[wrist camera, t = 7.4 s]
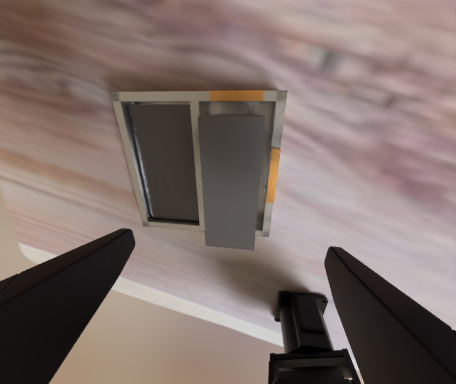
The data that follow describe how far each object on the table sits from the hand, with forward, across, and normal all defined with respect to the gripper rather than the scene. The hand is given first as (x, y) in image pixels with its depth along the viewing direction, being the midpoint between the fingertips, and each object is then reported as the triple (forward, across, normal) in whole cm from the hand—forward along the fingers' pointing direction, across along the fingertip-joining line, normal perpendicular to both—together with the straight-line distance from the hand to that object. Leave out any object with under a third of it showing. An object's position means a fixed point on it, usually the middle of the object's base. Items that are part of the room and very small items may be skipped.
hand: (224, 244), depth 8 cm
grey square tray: (+11, +4, 0) cm, 12 cm away
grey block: (+11, 0, 0) cm, 11 cm away
